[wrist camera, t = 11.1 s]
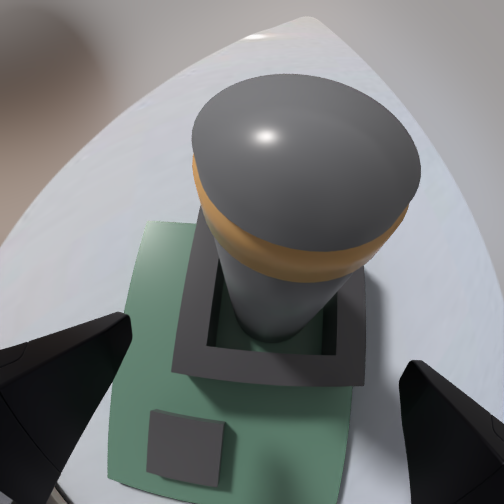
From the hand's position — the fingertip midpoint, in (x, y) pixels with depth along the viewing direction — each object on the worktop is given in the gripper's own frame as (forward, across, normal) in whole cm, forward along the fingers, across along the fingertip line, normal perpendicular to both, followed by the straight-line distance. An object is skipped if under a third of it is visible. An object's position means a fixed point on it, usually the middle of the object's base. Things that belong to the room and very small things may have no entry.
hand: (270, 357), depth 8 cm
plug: (+8, 0, +3) cm, 8 cm away
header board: (+5, +2, +6) cm, 9 cm away
